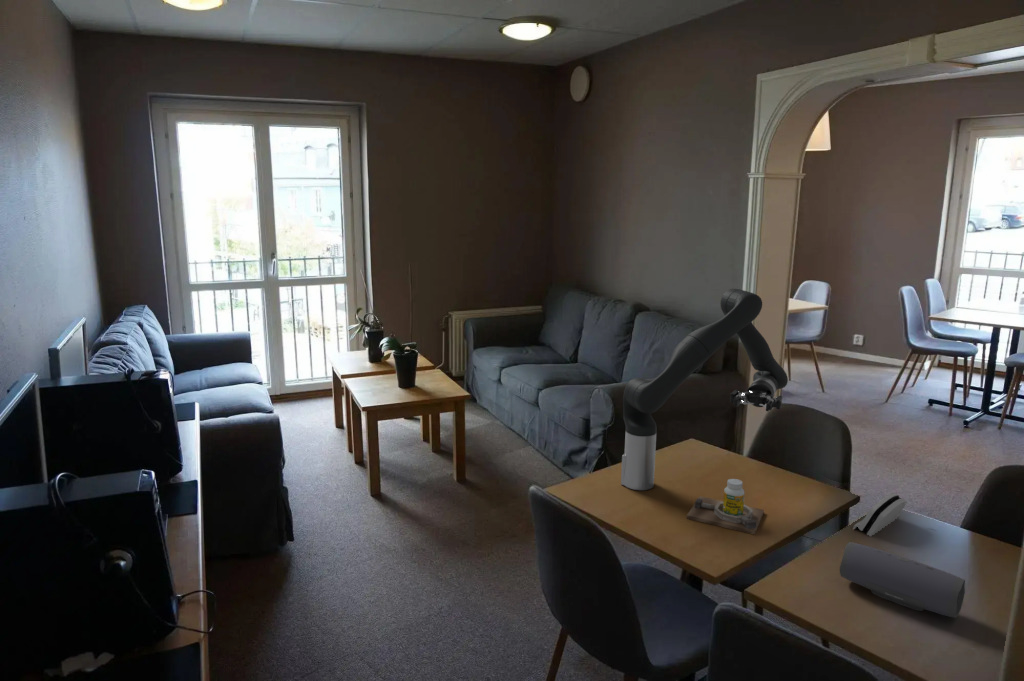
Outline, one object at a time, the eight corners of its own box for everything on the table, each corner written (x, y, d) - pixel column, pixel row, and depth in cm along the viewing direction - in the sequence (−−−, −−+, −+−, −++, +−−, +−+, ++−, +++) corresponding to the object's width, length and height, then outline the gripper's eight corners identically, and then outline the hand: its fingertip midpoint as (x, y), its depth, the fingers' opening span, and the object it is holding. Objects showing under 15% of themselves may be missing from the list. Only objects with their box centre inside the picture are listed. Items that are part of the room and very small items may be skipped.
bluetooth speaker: (962, 612, 147) (968, 570, 145) (952, 631, 140) (959, 588, 138) (850, 572, 162) (855, 533, 160) (836, 588, 155) (841, 548, 153)
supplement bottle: (742, 511, 191) (745, 479, 188) (743, 519, 186) (745, 486, 183) (722, 508, 192) (725, 476, 190) (722, 516, 187) (724, 484, 185)
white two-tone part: (878, 511, 193) (895, 484, 188) (894, 522, 190) (912, 495, 185) (851, 529, 182) (868, 501, 178) (867, 541, 179) (885, 513, 175)
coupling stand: (686, 518, 188) (687, 509, 187) (699, 499, 200) (700, 490, 199) (754, 534, 180) (755, 524, 179) (763, 513, 191) (764, 504, 191)
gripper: (738, 377, 213) (727, 389, 199) (787, 383, 206) (779, 396, 192) (736, 400, 215) (725, 414, 201) (784, 407, 208) (776, 422, 194)
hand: (751, 405), depth 197 cm, fingers open, 8 cm apart
